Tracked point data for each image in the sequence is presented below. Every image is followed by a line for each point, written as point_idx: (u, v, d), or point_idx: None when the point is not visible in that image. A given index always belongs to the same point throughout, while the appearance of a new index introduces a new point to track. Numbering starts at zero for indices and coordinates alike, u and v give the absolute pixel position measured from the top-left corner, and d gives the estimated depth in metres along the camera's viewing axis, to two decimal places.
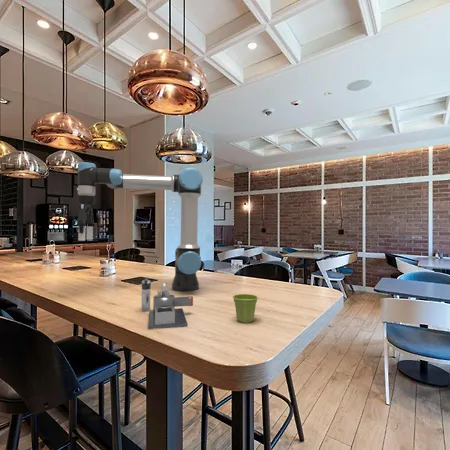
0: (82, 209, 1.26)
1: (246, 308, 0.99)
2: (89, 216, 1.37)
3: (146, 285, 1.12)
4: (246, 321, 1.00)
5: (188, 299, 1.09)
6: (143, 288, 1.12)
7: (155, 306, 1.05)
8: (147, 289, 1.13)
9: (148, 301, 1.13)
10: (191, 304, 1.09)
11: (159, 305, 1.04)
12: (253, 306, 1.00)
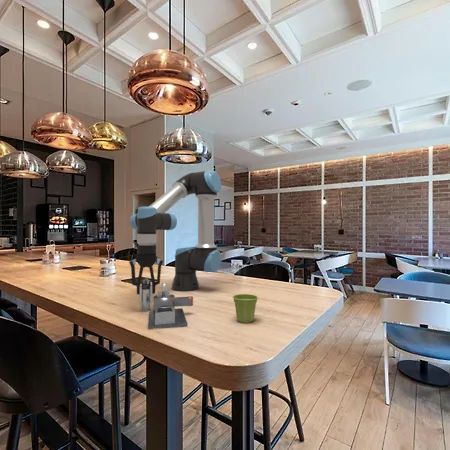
0: (131, 266, 1.13)
1: (246, 308, 0.99)
2: None
3: (146, 285, 1.12)
4: (246, 321, 1.00)
5: (188, 299, 1.09)
6: (143, 288, 1.12)
7: (155, 306, 1.05)
8: (147, 289, 1.13)
9: (148, 301, 1.13)
10: (191, 304, 1.09)
11: (159, 305, 1.04)
12: (253, 306, 1.00)
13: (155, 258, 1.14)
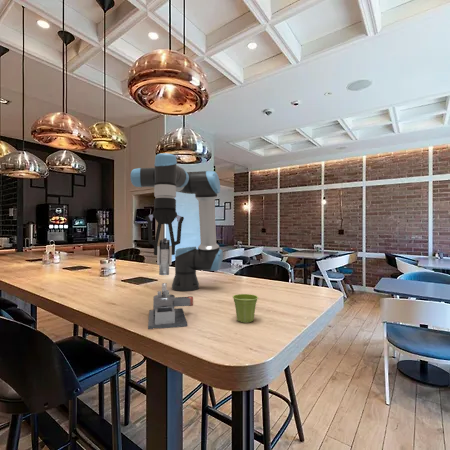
0: None
1: (246, 308, 0.99)
2: None
3: (165, 244, 0.97)
4: (246, 321, 1.00)
5: (188, 299, 1.09)
6: (161, 248, 0.97)
7: (155, 306, 1.05)
8: (166, 249, 0.97)
9: (167, 263, 0.97)
10: (191, 304, 1.09)
11: (159, 305, 1.04)
12: (253, 306, 1.00)
13: (175, 214, 0.99)
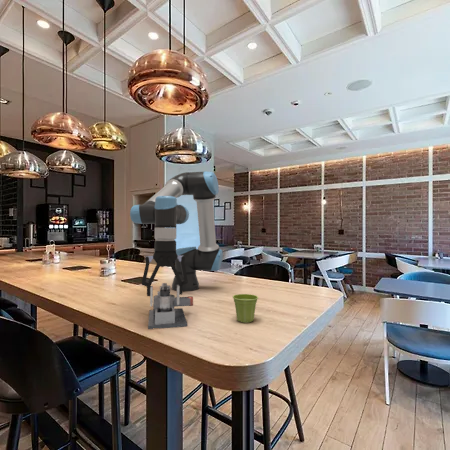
0: None
1: (246, 308, 0.99)
2: (172, 269, 0.98)
3: (165, 291, 0.97)
4: (246, 321, 1.00)
5: (188, 299, 1.09)
6: (162, 295, 0.97)
7: (155, 306, 1.05)
8: (166, 296, 0.97)
9: (168, 310, 0.97)
10: (191, 304, 1.09)
11: (159, 305, 1.04)
12: (253, 306, 1.00)
13: (175, 255, 0.98)
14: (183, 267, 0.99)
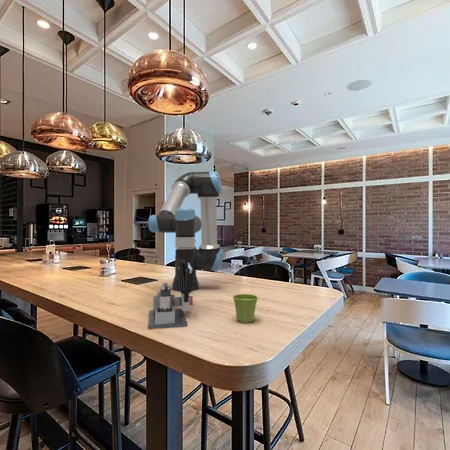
0: None
1: (246, 308, 0.99)
2: None
3: (166, 292, 0.96)
4: (246, 321, 1.00)
5: None
6: (162, 295, 0.96)
7: (156, 306, 1.05)
8: (167, 296, 0.97)
9: (168, 310, 0.97)
10: (191, 303, 1.10)
11: None
12: (253, 306, 1.00)
13: (185, 264, 1.04)
14: (186, 277, 1.03)
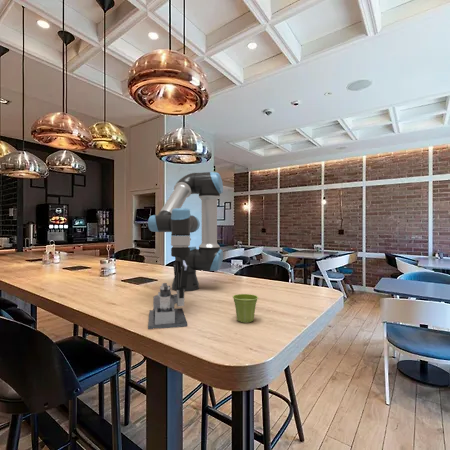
0: None
1: (246, 308, 0.99)
2: None
3: (166, 292, 0.96)
4: (246, 321, 1.00)
5: None
6: (162, 295, 0.96)
7: None
8: (167, 296, 0.97)
9: (168, 310, 0.97)
10: None
11: None
12: (253, 306, 1.00)
13: (181, 261, 1.09)
14: (181, 274, 1.08)
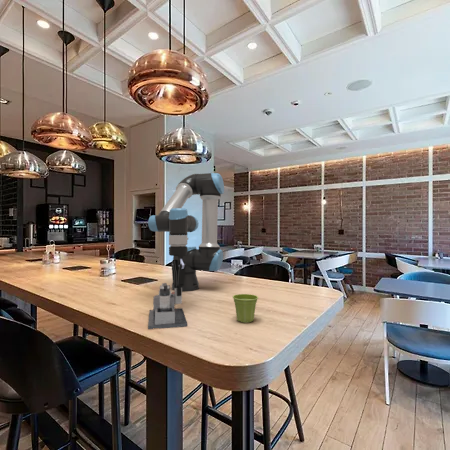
0: None
1: (246, 308, 0.99)
2: None
3: (165, 291, 0.97)
4: (246, 321, 1.00)
5: None
6: (162, 294, 0.97)
7: None
8: (166, 295, 0.97)
9: (168, 309, 0.97)
10: None
11: (170, 304, 1.05)
12: (253, 306, 1.00)
13: (178, 260, 1.11)
14: (178, 273, 1.11)
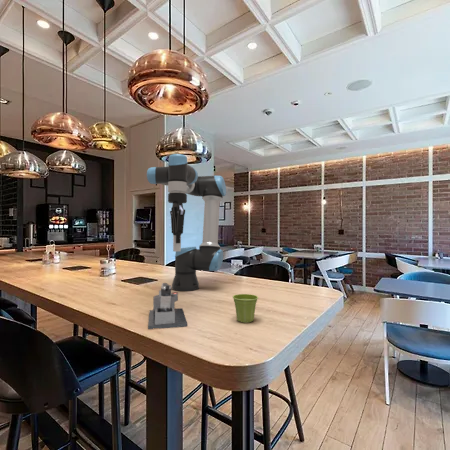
0: None
1: (246, 308, 0.99)
2: None
3: (167, 291, 0.97)
4: (246, 321, 1.00)
5: (176, 294, 1.17)
6: (163, 294, 0.97)
7: None
8: (168, 296, 0.97)
9: (168, 309, 0.97)
10: (177, 299, 1.18)
11: (170, 304, 1.05)
12: (253, 306, 1.00)
13: (177, 206, 1.10)
14: (177, 218, 1.09)
